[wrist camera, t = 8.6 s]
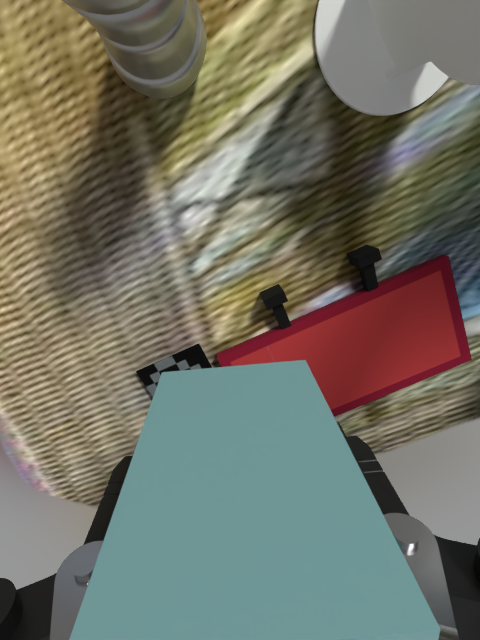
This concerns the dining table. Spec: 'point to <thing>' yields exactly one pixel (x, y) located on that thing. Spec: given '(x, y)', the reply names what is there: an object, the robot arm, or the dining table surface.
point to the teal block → (248, 523)
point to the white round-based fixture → (396, 50)
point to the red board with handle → (356, 335)
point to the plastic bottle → (150, 41)
